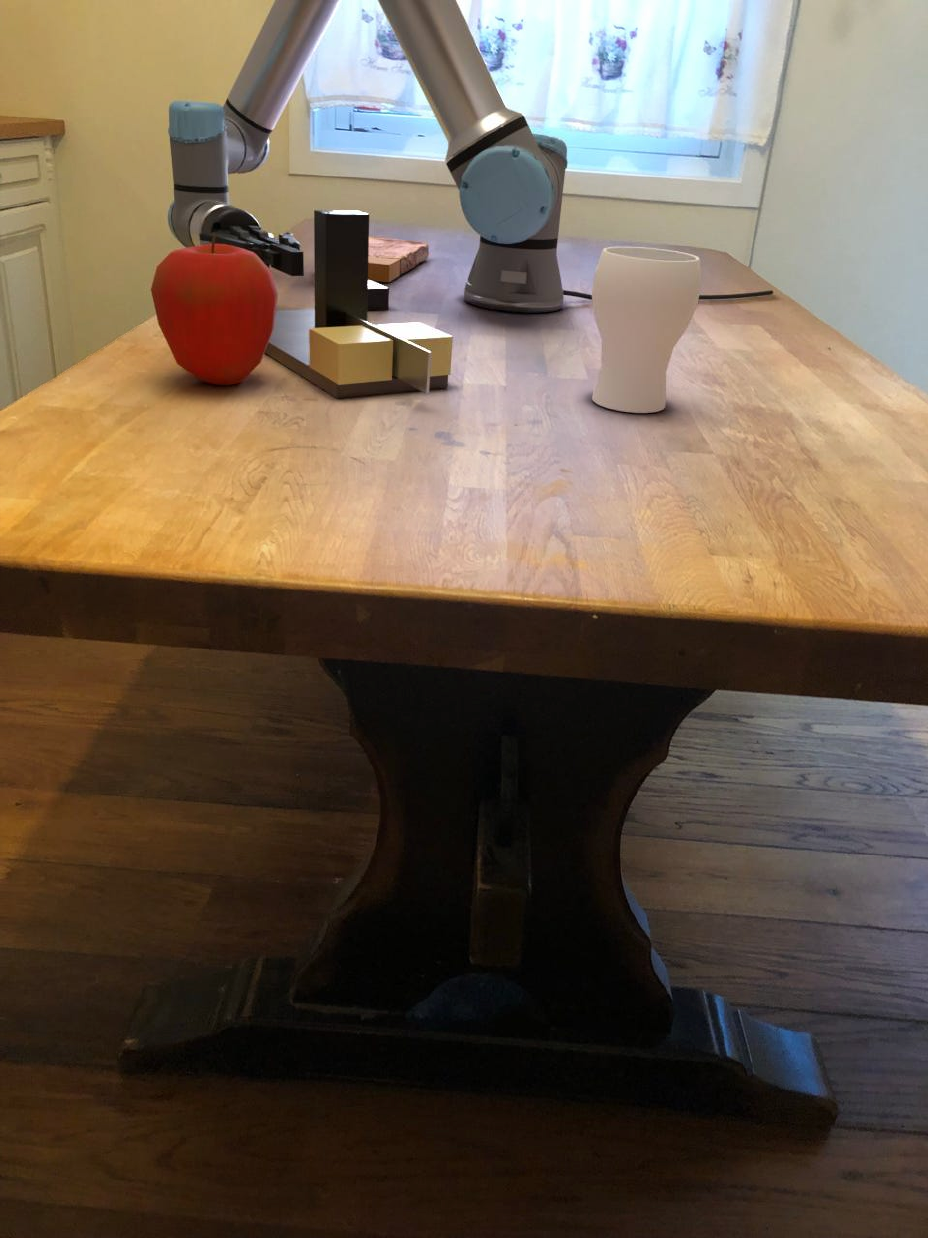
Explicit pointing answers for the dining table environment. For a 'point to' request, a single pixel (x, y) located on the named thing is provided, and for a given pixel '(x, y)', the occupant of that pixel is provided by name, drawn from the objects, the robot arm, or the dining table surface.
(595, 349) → the dining table surface
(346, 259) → the butter slicer
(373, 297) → the dark rectangular block
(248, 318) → the apple
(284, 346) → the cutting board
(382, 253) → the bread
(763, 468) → the dining table surface
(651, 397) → the cup
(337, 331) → the butter
